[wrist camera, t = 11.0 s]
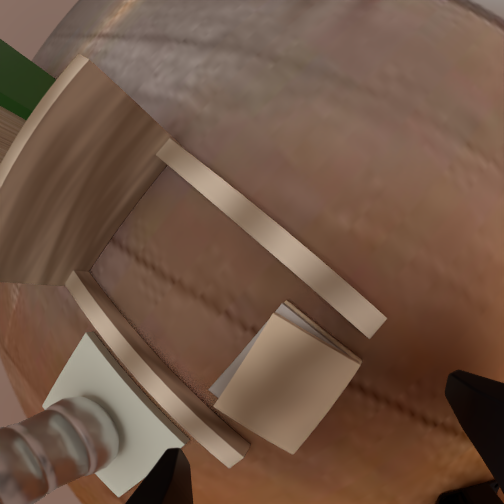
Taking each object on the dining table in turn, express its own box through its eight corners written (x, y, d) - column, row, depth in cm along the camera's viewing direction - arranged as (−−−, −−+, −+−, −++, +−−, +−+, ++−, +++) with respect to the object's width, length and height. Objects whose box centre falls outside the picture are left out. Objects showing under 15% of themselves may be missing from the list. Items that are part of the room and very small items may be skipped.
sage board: (190, 439, 20) (184, 444, 19) (123, 492, 21) (118, 497, 20) (93, 331, 23) (86, 332, 22) (48, 403, 24) (42, 405, 23)
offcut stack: (366, 363, 19) (373, 374, 16) (289, 442, 19) (284, 462, 16) (287, 299, 21) (281, 301, 18) (216, 383, 21) (201, 395, 18)
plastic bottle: (108, 385, 21) (-118, 445, 2) (142, 457, 20) (-45, 569, 1) (64, 395, 22) (-119, 437, 3) (93, 459, 21) (-69, 535, 2)
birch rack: (383, 313, 19) (457, 343, 7) (235, 457, 19) (164, 560, 8) (170, 137, 24) (78, 53, 12) (71, 274, 25) (-41, 261, 13)
